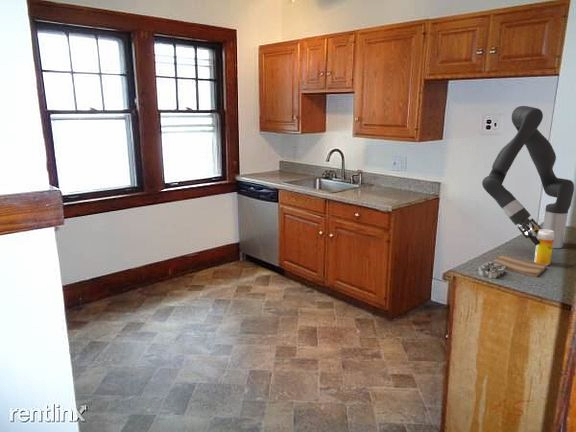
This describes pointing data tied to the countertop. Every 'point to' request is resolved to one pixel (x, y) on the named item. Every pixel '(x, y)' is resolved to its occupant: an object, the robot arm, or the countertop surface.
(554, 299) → the countertop surface
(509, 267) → the walnut board
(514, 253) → the countertop surface
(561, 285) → the countertop surface
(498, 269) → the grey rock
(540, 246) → the beer glass
